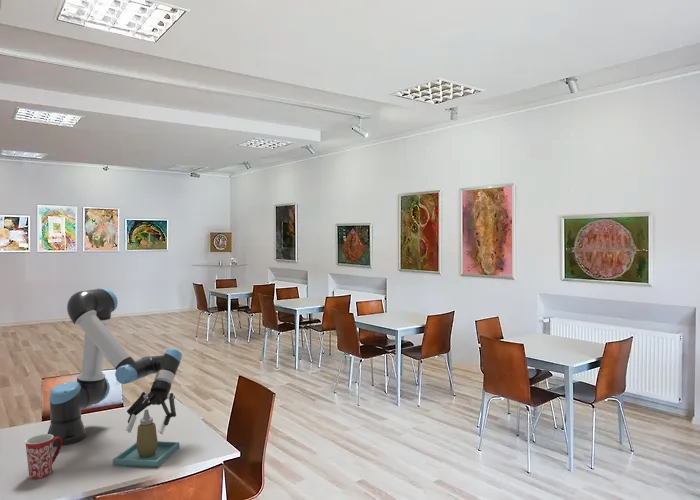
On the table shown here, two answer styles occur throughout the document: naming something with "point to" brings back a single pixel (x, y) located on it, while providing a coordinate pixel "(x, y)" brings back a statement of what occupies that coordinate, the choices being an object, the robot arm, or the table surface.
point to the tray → (134, 460)
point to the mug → (41, 455)
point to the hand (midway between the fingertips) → (144, 432)
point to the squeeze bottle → (146, 436)
